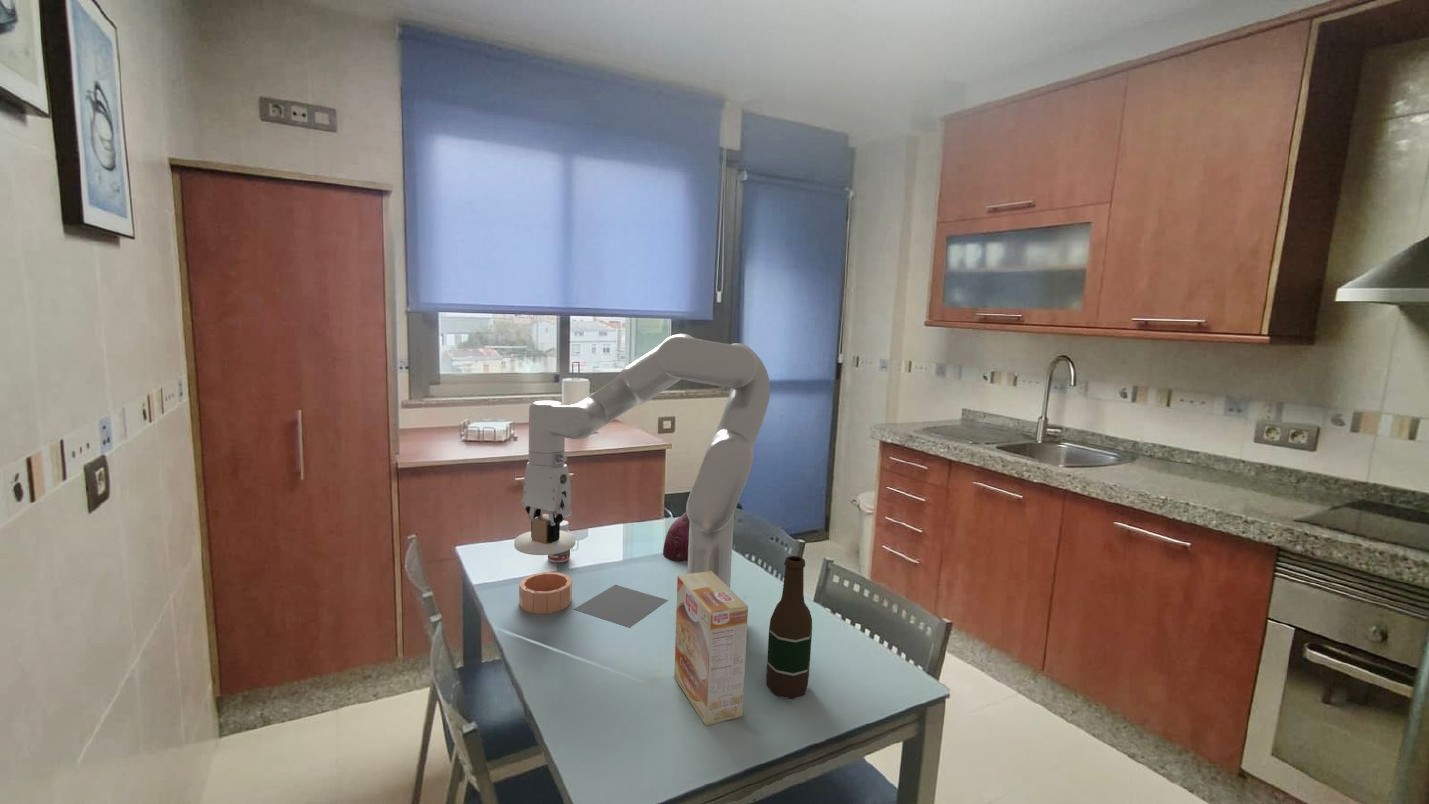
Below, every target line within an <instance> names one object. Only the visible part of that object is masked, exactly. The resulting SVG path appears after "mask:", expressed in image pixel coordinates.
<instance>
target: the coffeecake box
mask: <svg viewBox="0 0 1429 804" xmlns="http://www.w3.org/2000/svg"><path fill="white" fill-rule="evenodd" d="M676 579H677V584H676V585H677V586H676V587H677V588H676V610H675V611H676V612H675V613H676V615H675V616H676V617H675V639H674V640H675V641H674V642H675V643H674V644H675V645H674V671H673V673H674V674H673V678H674V679H675V681H676V682H677V683H678V685H679V687H680V688H681V690H682V692H683V694H685V697H687V699H688V700H689V702H690V703H691V705H692V707H693V708H694V709H695V711H696V713H697V714H698V715H699V717H700V718H701V720H702V722H703V723H704V725H705V726H711V725H714V724H719V723H721V722H725V721H730V720H735V719H739V718H743V713H744V693H745V692H744V691H745V675H746V674H745V673H746V672H745V670H746V657H747V655H746V654H747V653H746V652H747V638H748V637H747V633H748V613H749V605H747V603H745V601H743V600H742V598H740V597H739V596H738V595H737V594H736V593H735V592H734V591H733V590H732V589H731V587H730V588H729V587H728V586H727V585H726V584H725V583H724V582H723V581H722V580H721V579H719V578H718V577H717V576H716V575H715V574H714V573H713V572H712V571H707V572H700V573H692V574H691V573H688V574H687V573H683V574H678V575H677V578H676Z"/></svg>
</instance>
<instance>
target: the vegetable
mask: <svg viewBox="0 0 1429 804" xmlns="http://www.w3.org/2000/svg"><path fill="white" fill-rule="evenodd" d="M689 526H690V521H689V519H688V516H687V511H685V512H684V513H683V514H682V515H680V516H679V517H678V518H677V519H676V520H675V521H673V522H672V524H671V525H670V527H668V528H669V529H668V531H666V532H667V533H666V536H665V540H664V543H663V549H662V555H663V556H664V558H666V559H668V560H670V561H674V562H679V563H680V562H682V563H683V562H688V545H689Z"/></svg>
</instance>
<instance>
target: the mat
mask: <svg viewBox="0 0 1429 804" xmlns="http://www.w3.org/2000/svg"><path fill="white" fill-rule="evenodd" d="M668 601H669V599H665V598H662V597H659V596H656V595H652V594H648V593H645V592H642V591H639V590H636V589H632V588H628V587H626V586H625V587H624V586H622V585H619V584H618V585H617V584H614V585H611V587H609V588H607V589H605V590H604V591H602V592H600V593H599V594H597V595H595V596H593V597H592V598H590V599H588V600H586V601H585V602H583V603H582V604H580V605H578V606H576V607H575V608H573V610H574V611H577V612H579V613H583V614H586V615H589V616H592V617H596V618H598V619H601V620H603V621H604V620H605V621H608V622H611V623H613V624H617V625H620V626H623V627H626V628H629V629H630V628H631V627H633V626H634V625H637V623H639V622H640V621H642V620H643V619H644V618H646V617H647V616H649V615H650V614H651V613H653V612H654V611H655V610H657V609H658V608H659V607H662V605H664V604H665V603H667V602H668Z"/></svg>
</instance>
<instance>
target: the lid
mask: <svg viewBox="0 0 1429 804" xmlns="http://www.w3.org/2000/svg"><path fill="white" fill-rule="evenodd" d="M555 517H556V515H555ZM531 521H532V538H531V531H527V532H524V533H521V534H520V535H517V537H515V538H514V540H513V541H514V543H513V544H514V549H515V550H516V551H517V552H519V553H523V554H527V555H530V556H531V555H532V556H548V555H552V554H558V553H562V552H565V551H568V550H570V551H571V549H573V548H574V547H575V546H576V536H575V535H574V534H573V533H571V532H570V533H569V532H566V531H561V530H560V538H559V540H557V541H555V542H552V543H548V525H550V521H549V513H544V514H543V513H542V515H540V516H537V517H534V518H532V520H531Z"/></svg>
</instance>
